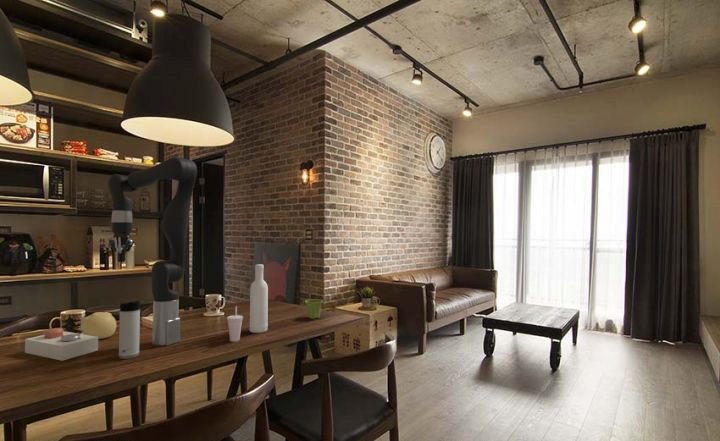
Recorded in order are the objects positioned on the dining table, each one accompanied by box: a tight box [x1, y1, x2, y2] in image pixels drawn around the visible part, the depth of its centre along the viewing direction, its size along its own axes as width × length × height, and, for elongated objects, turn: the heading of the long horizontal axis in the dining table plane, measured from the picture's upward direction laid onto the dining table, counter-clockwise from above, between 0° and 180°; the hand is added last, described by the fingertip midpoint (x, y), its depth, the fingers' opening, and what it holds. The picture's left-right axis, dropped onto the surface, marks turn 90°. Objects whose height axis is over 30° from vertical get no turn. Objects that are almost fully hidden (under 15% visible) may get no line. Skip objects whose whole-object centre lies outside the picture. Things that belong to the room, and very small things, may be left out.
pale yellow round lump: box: [80, 311, 117, 340], centre depth 156 cm, size 12×12×11 cm
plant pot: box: [304, 298, 324, 320], centre depth 194 cm, size 9×9×9 cm
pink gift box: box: [43, 327, 64, 339], centre depth 140 cm, size 6×6×6 cm
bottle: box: [249, 263, 269, 334], centre depth 168 cm, size 8×8×30 cm
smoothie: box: [226, 305, 244, 342], centre depth 153 cm, size 6×6×14 cm
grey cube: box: [61, 333, 81, 342], centre depth 136 cm, size 6×6×6 cm
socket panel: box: [24, 330, 99, 362], centre depth 138 cm, size 22×12×5 cm, turn 69°
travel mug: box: [118, 300, 141, 360], centre depth 134 cm, size 6×7×20 cm
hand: (121, 261), depth 158 cm, fingers closed
